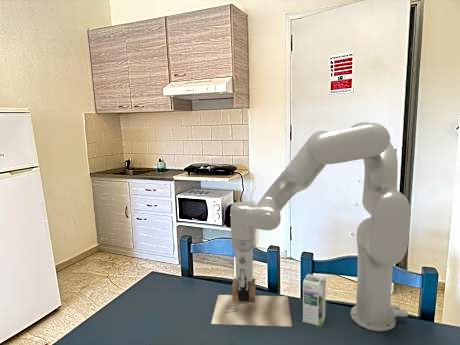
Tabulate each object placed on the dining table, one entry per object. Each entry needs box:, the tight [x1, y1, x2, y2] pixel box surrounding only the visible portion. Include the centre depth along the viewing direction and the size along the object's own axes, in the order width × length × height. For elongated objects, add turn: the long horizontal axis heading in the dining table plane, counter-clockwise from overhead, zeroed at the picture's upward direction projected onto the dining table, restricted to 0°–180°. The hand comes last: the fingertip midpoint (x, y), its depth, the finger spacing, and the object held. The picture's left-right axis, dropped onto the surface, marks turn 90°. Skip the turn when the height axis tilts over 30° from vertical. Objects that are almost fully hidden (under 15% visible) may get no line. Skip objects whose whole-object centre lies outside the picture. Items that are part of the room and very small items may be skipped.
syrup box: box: [302, 273, 327, 328], centre depth 96 cm, size 6×6×14 cm
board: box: [210, 294, 293, 327], centre depth 103 cm, size 24×16×2 cm, turn 84°
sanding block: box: [231, 277, 256, 304], centre depth 102 cm, size 7×5×6 cm
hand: (244, 295), depth 102 cm, fingers closed on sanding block, 5 cm apart
